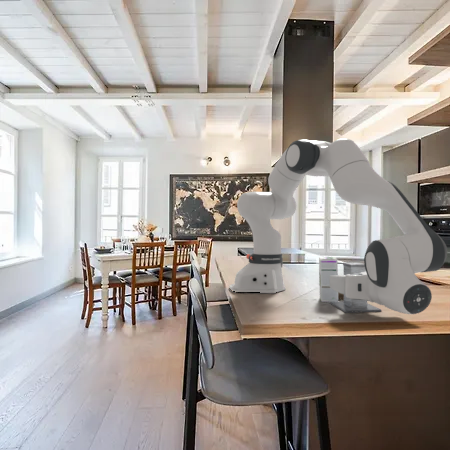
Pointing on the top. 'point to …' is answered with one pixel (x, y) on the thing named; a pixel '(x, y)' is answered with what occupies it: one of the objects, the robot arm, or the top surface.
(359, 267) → the tea tin
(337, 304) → the slate coaster
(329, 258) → the syrup box
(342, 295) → the walnut block
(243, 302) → the top surface
